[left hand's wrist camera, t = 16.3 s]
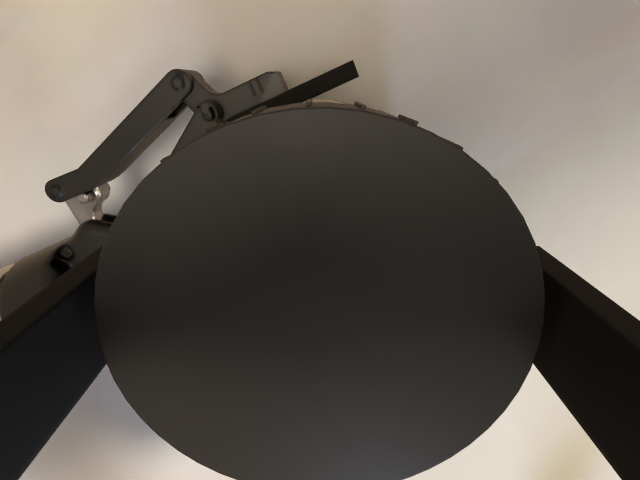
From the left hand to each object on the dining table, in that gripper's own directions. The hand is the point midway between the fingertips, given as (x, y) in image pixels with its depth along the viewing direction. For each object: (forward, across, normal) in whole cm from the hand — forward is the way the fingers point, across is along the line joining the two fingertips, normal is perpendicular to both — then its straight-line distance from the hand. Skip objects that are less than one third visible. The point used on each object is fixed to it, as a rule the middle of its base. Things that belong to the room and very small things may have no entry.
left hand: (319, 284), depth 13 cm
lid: (-3, 0, 0) cm, 3 cm away
